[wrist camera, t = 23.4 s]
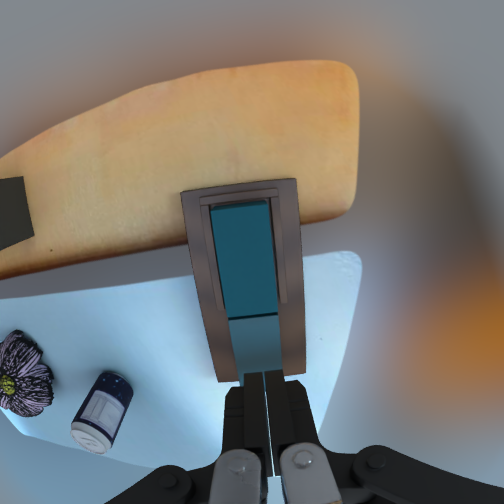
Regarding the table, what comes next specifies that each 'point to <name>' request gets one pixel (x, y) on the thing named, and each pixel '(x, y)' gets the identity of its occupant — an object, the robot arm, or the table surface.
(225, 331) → the brown flat rectangular board
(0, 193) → the pad stand
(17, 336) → the decorative flower
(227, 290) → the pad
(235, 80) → the table surface
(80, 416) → the beverage can
